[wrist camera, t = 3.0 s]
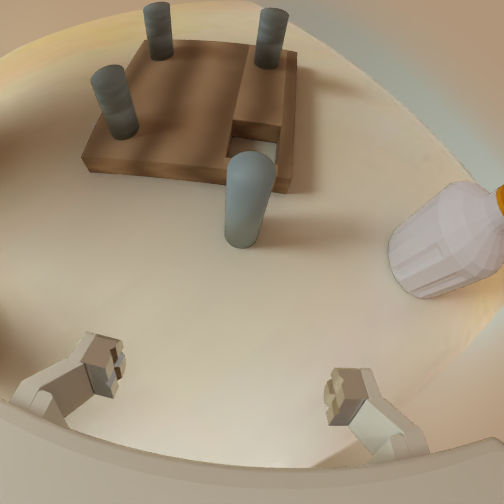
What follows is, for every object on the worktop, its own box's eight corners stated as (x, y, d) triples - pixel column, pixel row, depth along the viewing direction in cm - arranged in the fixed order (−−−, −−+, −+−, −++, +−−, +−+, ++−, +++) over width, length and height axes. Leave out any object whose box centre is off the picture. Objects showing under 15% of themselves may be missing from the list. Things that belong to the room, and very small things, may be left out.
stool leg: (222, 245, 30) (223, 187, 19) (227, 215, 31) (230, 148, 20) (255, 250, 30) (273, 195, 20) (259, 220, 31) (277, 154, 21)
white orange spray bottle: (440, 311, 30) (633, 234, 6) (376, 278, 30) (579, 143, 7) (453, 244, 33) (604, 139, 9) (396, 209, 33) (539, 60, 10)
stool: (90, 171, 31) (52, 108, 21) (147, 54, 38) (138, -4, 28) (285, 193, 32) (312, 125, 22) (293, 67, 39) (308, 6, 29)
